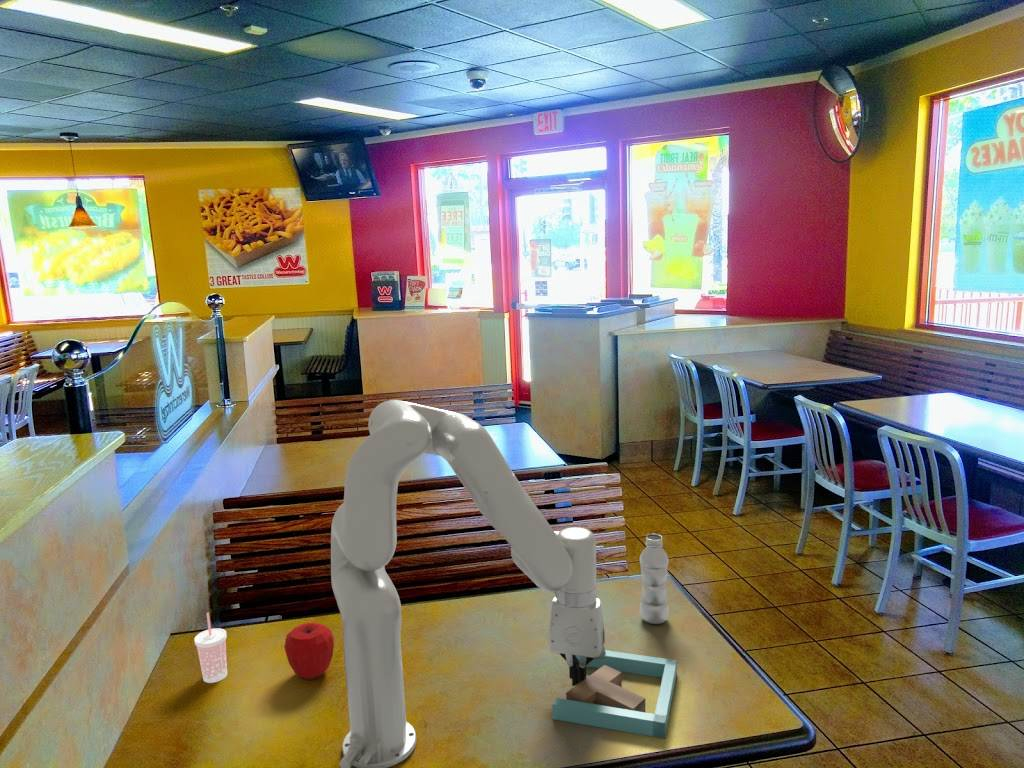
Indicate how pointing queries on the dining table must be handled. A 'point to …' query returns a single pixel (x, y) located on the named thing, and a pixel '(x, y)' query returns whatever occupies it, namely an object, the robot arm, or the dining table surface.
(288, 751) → the dining table surface
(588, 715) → the teal corral
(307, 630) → the apple
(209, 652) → the beverage cup
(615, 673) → the walnut T-block
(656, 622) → the plastic bottle
